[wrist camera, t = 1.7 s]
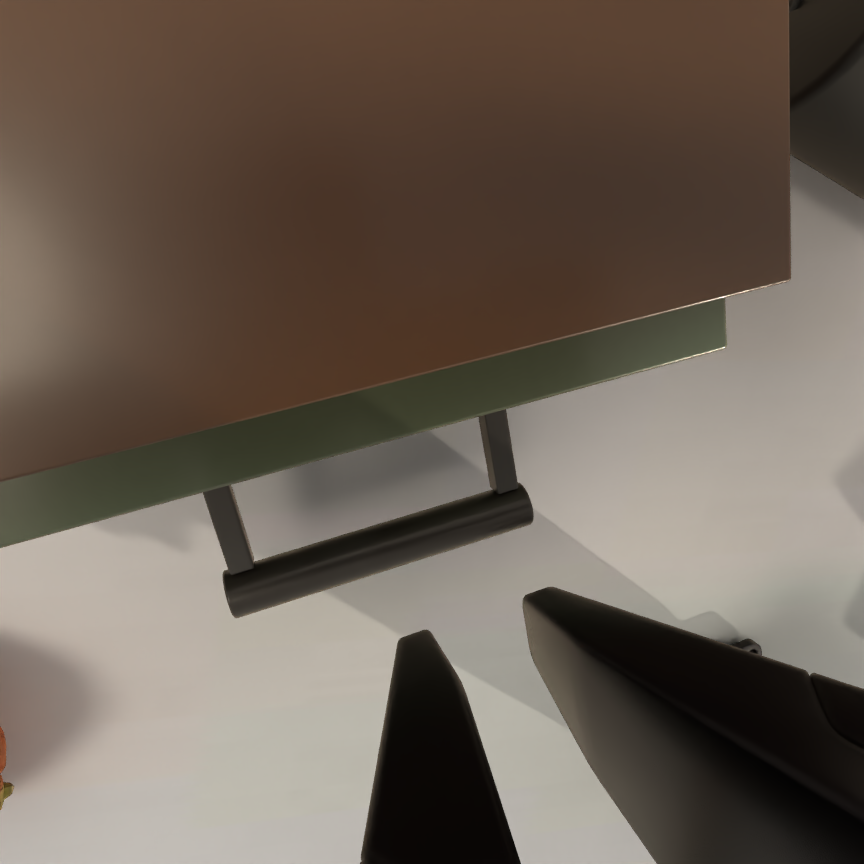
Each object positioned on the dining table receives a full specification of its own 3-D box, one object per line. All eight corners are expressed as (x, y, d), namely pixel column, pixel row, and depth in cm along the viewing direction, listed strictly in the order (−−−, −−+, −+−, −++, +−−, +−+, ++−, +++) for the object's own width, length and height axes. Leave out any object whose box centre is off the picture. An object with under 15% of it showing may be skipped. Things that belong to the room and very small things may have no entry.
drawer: (551, 455, 22) (738, 575, 14) (143, 575, 19) (76, 817, 11) (444, -331, 15) (678, -975, 7) (-199, -327, 13) (-990, -1380, 4)
